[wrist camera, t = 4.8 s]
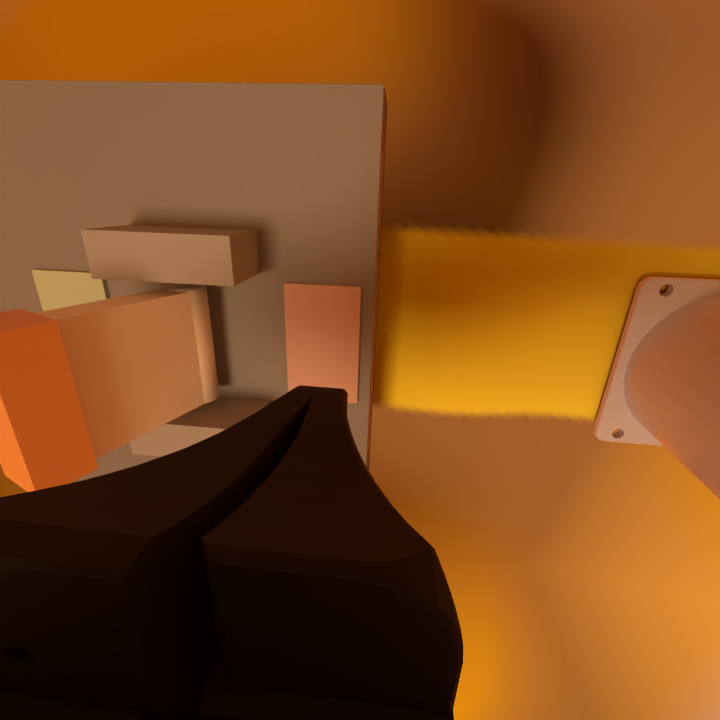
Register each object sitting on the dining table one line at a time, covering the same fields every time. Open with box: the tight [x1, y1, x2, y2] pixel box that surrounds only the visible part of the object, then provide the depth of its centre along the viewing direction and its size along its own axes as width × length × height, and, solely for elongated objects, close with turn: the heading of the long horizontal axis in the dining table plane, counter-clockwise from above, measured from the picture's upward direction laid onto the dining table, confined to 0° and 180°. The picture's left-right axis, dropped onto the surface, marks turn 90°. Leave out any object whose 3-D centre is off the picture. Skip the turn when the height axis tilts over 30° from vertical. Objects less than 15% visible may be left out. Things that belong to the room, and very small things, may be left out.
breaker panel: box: [0, 80, 387, 483], centre depth 17 cm, size 18×18×6 cm
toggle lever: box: [0, 284, 219, 492], centre depth 13 cm, size 2×5×7 cm, turn 177°
